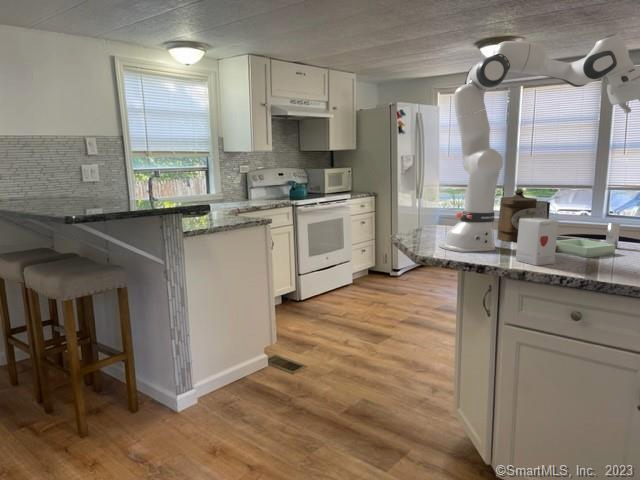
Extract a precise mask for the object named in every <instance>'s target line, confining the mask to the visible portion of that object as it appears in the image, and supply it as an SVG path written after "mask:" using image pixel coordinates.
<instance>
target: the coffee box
mask: <svg viewBox="0 0 640 480" xmlns="http://www.w3.org/2000/svg"><path fill="white" fill-rule="evenodd" d="M550 205H551V202H550V201H548V200H546V201H545V200H537V204H536V218H545V219H550V218H549V217H550V210H551V209H550V207H551V206H550Z"/></svg>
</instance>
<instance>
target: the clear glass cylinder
mask: <svg viewBox="0 0 640 480" xmlns="http://www.w3.org/2000/svg"><path fill="white" fill-rule="evenodd" d="M620 227H621V223H619V222H611V221H609V222H607V228H606V237H605V243H608V244H613V245H615V250H617V249H618V245H619V235H620V229H621V228H620Z"/></svg>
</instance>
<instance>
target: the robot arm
mask: <svg viewBox="0 0 640 480" xmlns="http://www.w3.org/2000/svg"><path fill="white" fill-rule="evenodd" d="M508 73H517V74H522V75H537V76H544V77H548V78H553V79H558V80H562V81H564V82H565V83H567V84H568V85H570V86H572V87H575V88H580V87H581V88H582V87H584V86H586V85H588V84H590V83H592V82H596V81H598V80H600V79H602V78H603V77H604V76H606V78H607V79H608V82H607V86H606V87H607V88H606V91H607V92H606V93H607V96H608V99H609V103H610V104H611V105H613V106H615V105H618V106H619V107H620V108H621V109H622V110H623V113H624V114H629V113H631V112H632V109H631V107H630V106H628V105H627V102H631V101H634V100H638V102H640V66H635V65H634V63H633V61H632V59H631V58H630V52H629V50H628V47H627V45H626V43H625V41H624V39H623V38H622V37H621V36H620V35H619V34H611V35H607V36H605V37H602V38H600V39H599V40H597V41H596V42H595V44H594V47H593V48H592V49H591V51H589V52H588V53H587V55H586V56H585V57H583V58H581V59H578V60H576V61H572V62H566V61H562V60H557V59H552V58H549V53H548V50H547V48H546V46H544V45H541V44H539V43H536V42H529V41H525V40H524V41H523V40H521V41H520V40H505V41H502V42H500V43H497V46H496V47H495V48H494V49H493V53H492V55H491V56H488V57H486V58H484V59H482V60H480V61H478V62H477V63H475V64H474V65H473V66H471V68H470V69H469V70H468V72H467V74H466V78H465V81H464V84H462V85H460V86H459V87H457V89H455V91H454V94H453V95H454V96H453V98H454V99H453V101H454V111H455V116H456V117H455V118H456V121H457V127H458V130H459V135H460V141H461V154H462V165H463V168H464V170H465V171H466V173H468V174H469V179H468V183H467V187H466V189H465V192H464V193H465V195H464V208H463V209H464V210H463V212H462V213H461V212H458V211H457V212H456V218H459V219H460V220H459V221H458V222H457V223H456V224H455V225H454V226H452V227H451V228H450V229H449V230H448V231H447V232H446V234H445V239H444V240H445V241H444V242H442V243H439V244H438V247H439V248H442V249H445V250H448V251H452V252H461V253H466V252H467V253H468V252H469V253H470V252H485V251H488V252H489V251H496V243H495V234H494V233H495V232H494V222H495V217H496V216H495V211H494V209H495V207H494V206H495V196H496V189H497V184H498V181H499V177H500V172H501V170H502V168H503V166H504V160H503V156H502V154H500V153H499V152H498V151H497V150H495V148H494V149H493V148H491V145H490V133H491V128H490V127H491V126H490V123H489V122H490V121H489V117H488V113H487V109H486V104H485V95H486V92H487V91H490V90H492V89H494V88H496V87H497V86H500V84H501V83H502V82H503V81H504V79H505V78H506V77H507V74H508Z"/></svg>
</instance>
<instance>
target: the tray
mask: <svg viewBox="0 0 640 480" xmlns="http://www.w3.org/2000/svg"><path fill="white" fill-rule="evenodd" d="M556 245H557V246H558V247H557V252H556V253H561V254H566V255H571V256H575V257H581V258H595V257H601V256H610V255H615V253H616V249H615V245H613V244H608V243H606V242H600V241H596V240H591V239H590V240H589V239H583V238H571V239H563V240H562V239H560V240H556Z"/></svg>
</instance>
